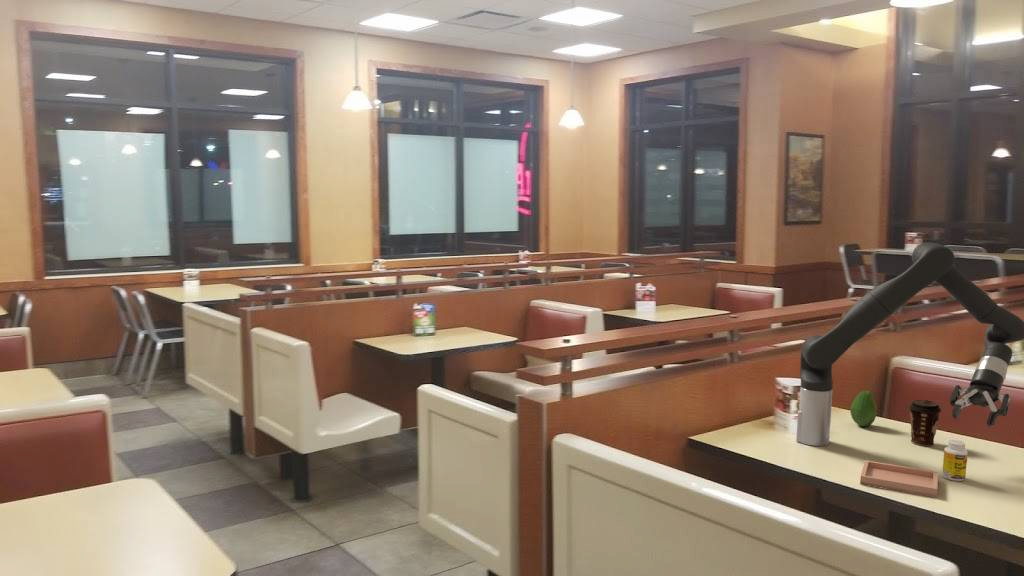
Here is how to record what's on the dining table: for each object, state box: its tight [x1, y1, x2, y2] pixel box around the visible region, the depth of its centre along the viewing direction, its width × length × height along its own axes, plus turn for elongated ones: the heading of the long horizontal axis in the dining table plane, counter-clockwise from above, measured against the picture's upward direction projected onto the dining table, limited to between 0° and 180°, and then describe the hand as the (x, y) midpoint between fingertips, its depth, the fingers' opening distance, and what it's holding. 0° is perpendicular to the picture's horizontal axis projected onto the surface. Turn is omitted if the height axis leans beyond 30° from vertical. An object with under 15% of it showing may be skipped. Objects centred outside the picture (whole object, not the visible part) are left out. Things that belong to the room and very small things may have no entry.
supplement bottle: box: [941, 439, 969, 482], centre depth 210 cm, size 6×6×10 cm
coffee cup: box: [908, 399, 942, 447], centre depth 238 cm, size 9×8×13 cm
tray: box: [859, 459, 939, 498], centre depth 207 cm, size 18×14×2 cm
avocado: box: [850, 390, 878, 427], centre depth 256 cm, size 8×8×12 cm
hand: (971, 421), depth 215 cm, fingers open, 8 cm apart
